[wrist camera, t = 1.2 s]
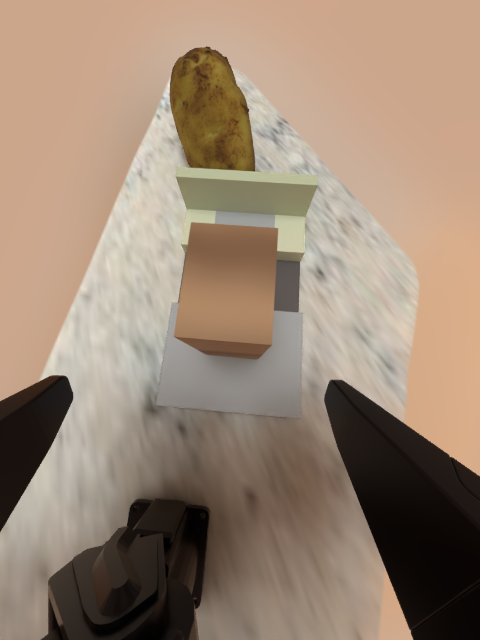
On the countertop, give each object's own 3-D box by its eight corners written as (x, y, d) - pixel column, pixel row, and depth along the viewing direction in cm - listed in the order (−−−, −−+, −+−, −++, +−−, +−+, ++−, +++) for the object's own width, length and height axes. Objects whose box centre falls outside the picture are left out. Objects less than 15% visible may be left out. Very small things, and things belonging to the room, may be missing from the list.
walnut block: (258, 359, 20) (272, 344, 11) (206, 354, 20) (173, 336, 11) (262, 294, 22) (278, 228, 12) (214, 290, 22) (190, 222, 12)
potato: (181, 212, 26) (155, 143, 18) (182, 122, 29) (160, 30, 21) (255, 209, 26) (261, 138, 18) (249, 119, 29) (251, 25, 21)
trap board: (294, 414, 21) (314, 429, 15) (163, 402, 22) (134, 412, 16) (300, 220, 26) (317, 175, 20) (192, 213, 26) (177, 166, 20)
